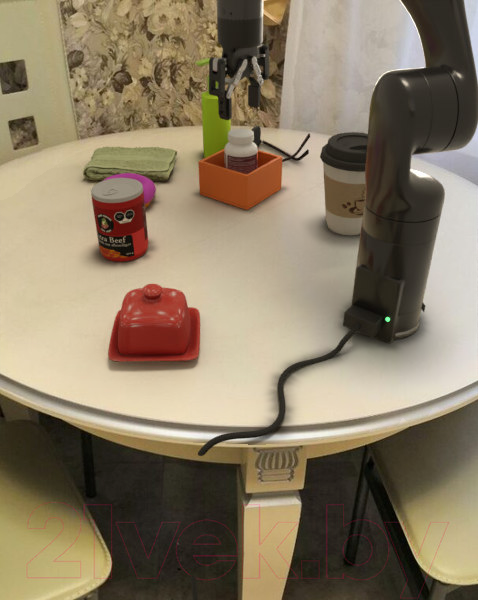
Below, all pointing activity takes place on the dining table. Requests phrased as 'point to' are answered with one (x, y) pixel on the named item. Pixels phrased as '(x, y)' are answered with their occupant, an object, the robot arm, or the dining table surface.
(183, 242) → the dining table surface
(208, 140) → the soap dispenser
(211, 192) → the bin
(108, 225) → the canned food
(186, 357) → the butter dish
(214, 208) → the dining table surface
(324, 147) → the coffee cup
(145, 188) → the donut
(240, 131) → the pill bottle
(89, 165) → the washcloth
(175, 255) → the dining table surface
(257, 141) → the sunglasses
